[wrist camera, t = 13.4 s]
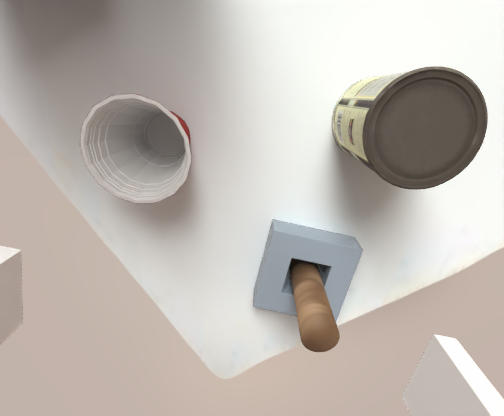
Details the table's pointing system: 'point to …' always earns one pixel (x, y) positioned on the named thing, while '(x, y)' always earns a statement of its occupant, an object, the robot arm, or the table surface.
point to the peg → (312, 307)
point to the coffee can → (412, 125)
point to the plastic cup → (136, 148)
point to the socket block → (308, 249)
